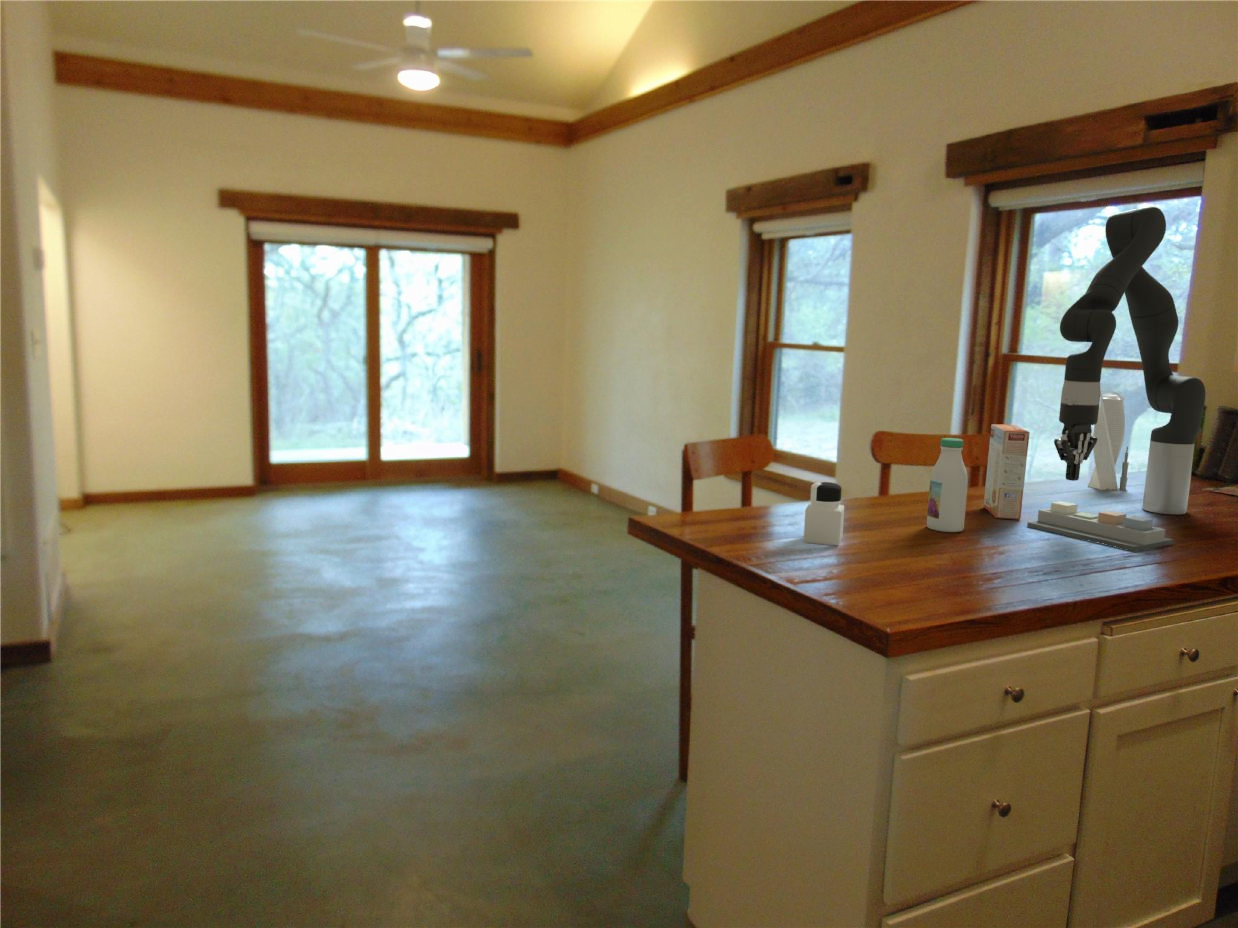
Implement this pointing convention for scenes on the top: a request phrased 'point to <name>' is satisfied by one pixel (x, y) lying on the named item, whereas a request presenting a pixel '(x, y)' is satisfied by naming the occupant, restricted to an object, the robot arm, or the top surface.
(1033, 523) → the keypad
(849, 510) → the top surface
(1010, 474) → the cracker box
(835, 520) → the medicine bottle
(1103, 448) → the skyscraper
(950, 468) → the milk bottle
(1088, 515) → the key sage
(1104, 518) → the block
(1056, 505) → the key ivory
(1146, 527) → the key slate
